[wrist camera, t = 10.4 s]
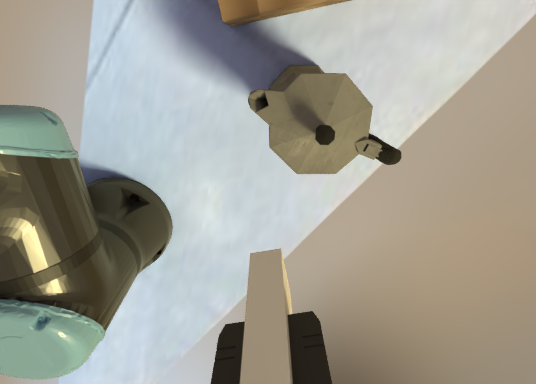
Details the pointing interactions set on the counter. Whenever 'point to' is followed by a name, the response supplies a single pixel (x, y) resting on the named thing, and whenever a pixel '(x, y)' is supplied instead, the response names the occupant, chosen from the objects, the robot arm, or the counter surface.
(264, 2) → the socket block
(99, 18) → the counter surface
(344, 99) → the coffeepot
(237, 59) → the counter surface
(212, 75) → the counter surface
